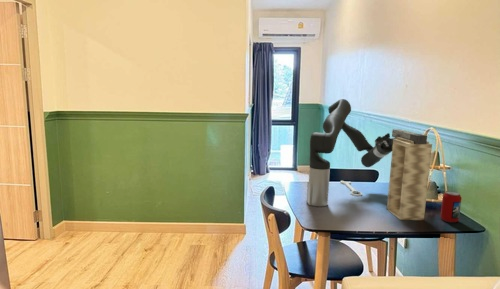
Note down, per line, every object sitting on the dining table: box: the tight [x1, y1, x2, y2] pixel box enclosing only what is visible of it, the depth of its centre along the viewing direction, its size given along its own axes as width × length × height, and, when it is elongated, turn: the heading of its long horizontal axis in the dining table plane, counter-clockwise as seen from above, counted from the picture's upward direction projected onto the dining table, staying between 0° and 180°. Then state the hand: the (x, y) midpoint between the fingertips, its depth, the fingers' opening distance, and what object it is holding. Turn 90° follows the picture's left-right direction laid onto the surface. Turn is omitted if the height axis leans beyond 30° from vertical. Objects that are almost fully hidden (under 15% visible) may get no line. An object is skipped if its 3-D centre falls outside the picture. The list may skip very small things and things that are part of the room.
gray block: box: [391, 128, 428, 144], centre depth 151 cm, size 5×22×4 cm, turn 3°
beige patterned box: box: [386, 137, 433, 221], centre depth 150 cm, size 10×13×33 cm
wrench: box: [340, 180, 363, 197], centre depth 192 cm, size 28×2×6 cm
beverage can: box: [440, 190, 462, 223], centre depth 146 cm, size 7×7×12 cm
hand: (398, 135), depth 160 cm, fingers open, 8 cm apart
